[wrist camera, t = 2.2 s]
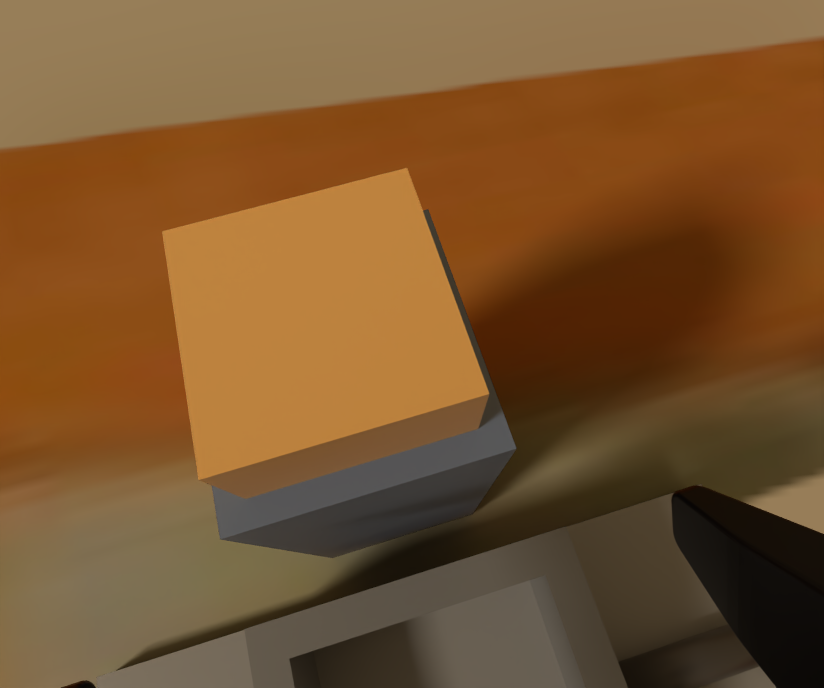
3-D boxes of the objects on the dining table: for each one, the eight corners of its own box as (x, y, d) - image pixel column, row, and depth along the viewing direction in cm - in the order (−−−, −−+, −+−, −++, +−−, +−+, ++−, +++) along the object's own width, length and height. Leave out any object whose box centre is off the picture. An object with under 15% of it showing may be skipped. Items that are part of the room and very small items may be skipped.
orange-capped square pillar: (472, 514, 20) (537, 417, 8) (332, 558, 19) (166, 529, 7) (429, 382, 21) (427, 137, 9) (301, 420, 21) (127, 214, 9)
